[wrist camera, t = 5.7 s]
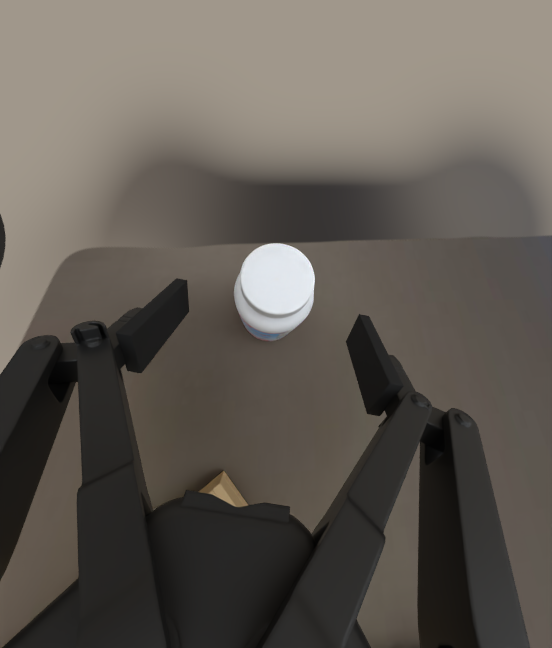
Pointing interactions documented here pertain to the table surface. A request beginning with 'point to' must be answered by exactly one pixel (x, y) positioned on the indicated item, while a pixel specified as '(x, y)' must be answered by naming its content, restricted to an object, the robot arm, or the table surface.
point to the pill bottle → (274, 291)
